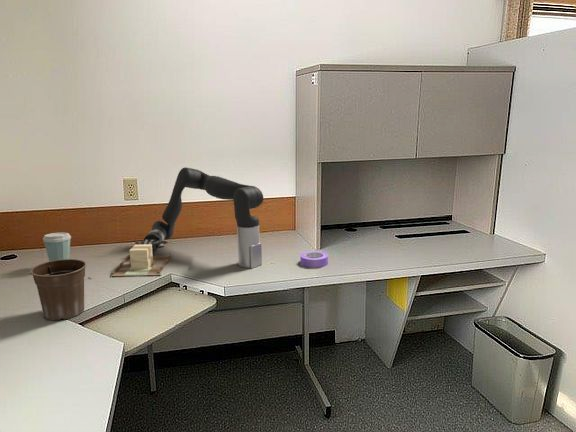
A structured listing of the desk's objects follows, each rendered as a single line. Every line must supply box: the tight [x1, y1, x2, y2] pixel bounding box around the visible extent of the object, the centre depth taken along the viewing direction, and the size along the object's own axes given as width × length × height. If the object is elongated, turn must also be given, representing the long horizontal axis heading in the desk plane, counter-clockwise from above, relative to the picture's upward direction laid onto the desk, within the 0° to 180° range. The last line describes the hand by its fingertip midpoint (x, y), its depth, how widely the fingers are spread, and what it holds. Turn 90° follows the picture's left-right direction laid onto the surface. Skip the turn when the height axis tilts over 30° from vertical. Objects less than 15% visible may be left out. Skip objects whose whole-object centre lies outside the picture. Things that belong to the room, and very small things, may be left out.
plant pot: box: [30, 258, 87, 321], centre depth 151 cm, size 16×16×16 cm
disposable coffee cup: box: [42, 232, 72, 262], centre depth 195 cm, size 11×11×15 cm
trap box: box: [111, 253, 173, 278], centre depth 195 cm, size 23×19×2 cm
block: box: [128, 244, 154, 269], centre depth 193 cm, size 8×7×8 cm
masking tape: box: [300, 250, 329, 269], centre depth 197 cm, size 12×12×4 cm
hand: (144, 250), depth 196 cm, fingers closed
